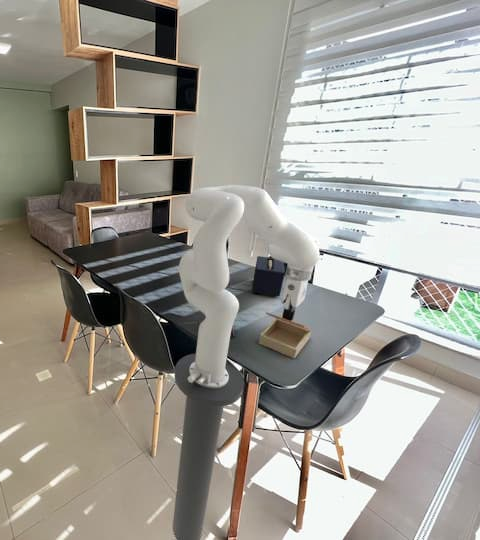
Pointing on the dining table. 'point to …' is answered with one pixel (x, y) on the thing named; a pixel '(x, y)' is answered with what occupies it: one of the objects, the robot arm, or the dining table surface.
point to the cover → (289, 321)
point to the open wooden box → (284, 338)
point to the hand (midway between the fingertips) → (287, 318)
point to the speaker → (268, 276)
